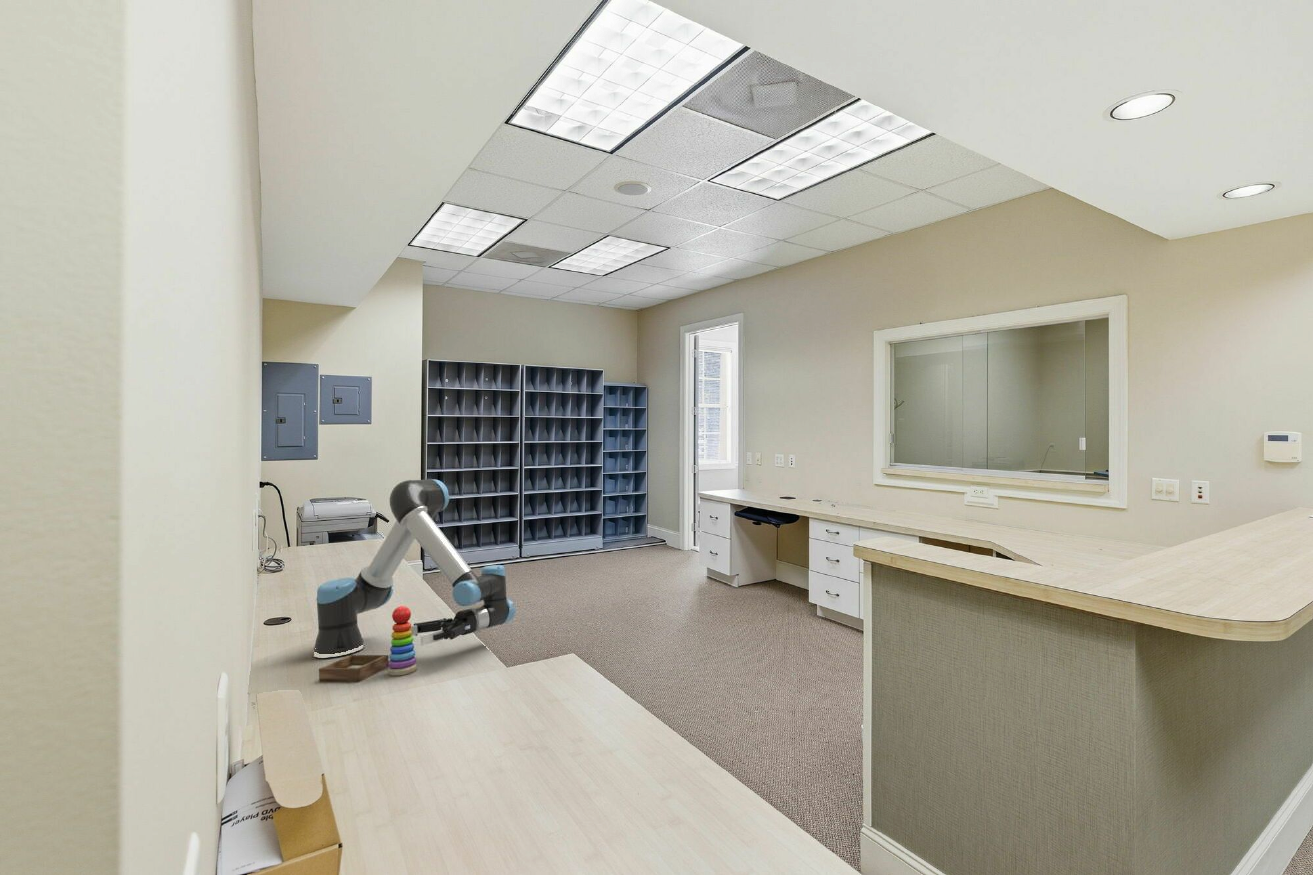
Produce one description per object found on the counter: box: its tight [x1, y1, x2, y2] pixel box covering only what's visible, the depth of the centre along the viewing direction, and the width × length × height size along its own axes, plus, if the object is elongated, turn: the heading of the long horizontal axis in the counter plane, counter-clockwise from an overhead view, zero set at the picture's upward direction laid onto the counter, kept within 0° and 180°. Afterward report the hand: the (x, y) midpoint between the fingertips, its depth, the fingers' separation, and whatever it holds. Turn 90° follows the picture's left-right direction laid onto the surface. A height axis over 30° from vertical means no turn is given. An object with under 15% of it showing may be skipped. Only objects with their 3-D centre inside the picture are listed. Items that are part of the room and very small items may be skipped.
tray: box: [318, 654, 390, 683], centre depth 181 cm, size 13×13×4 cm
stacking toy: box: [387, 605, 418, 677], centre depth 180 cm, size 8×8×19 cm
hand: (408, 637), depth 181 cm, fingers open, 13 cm apart
